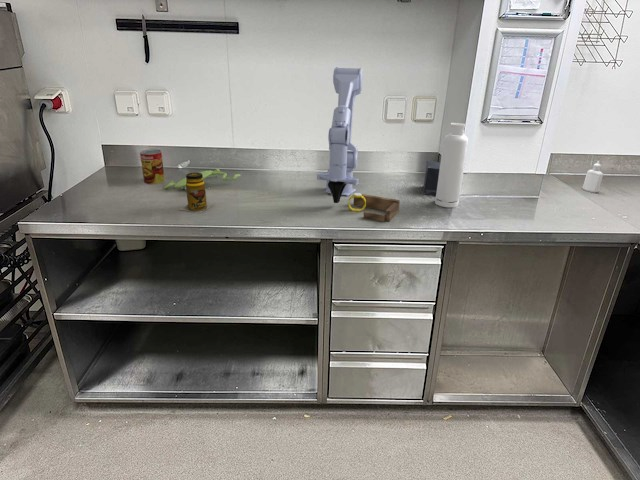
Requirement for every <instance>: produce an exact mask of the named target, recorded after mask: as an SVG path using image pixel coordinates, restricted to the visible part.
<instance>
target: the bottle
mask: <svg viewBox="0 0 640 480" xmlns="http://www.w3.org/2000/svg"><path fill="white" fill-rule="evenodd" d="M466 124H467V123H462V122H450V131H449V133H448V134H446V135H445V136H444V138H443V141H442V147H441V148H442V149H441V156H440V157H441V158H440V162H441V163H440V170H439V177H438V185H437V192H436V195H435V200H434V203H435V204H436V205H437V206H440V207H443V208H456V207H458V206H459V202H460V201H459V200H460V197H461V195H460V194H461V189H462V183H463V177H464V170H465V164H466V157H467V151H468V145H469V138H468V137H467V135H466V134H465V127H466Z"/></svg>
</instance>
